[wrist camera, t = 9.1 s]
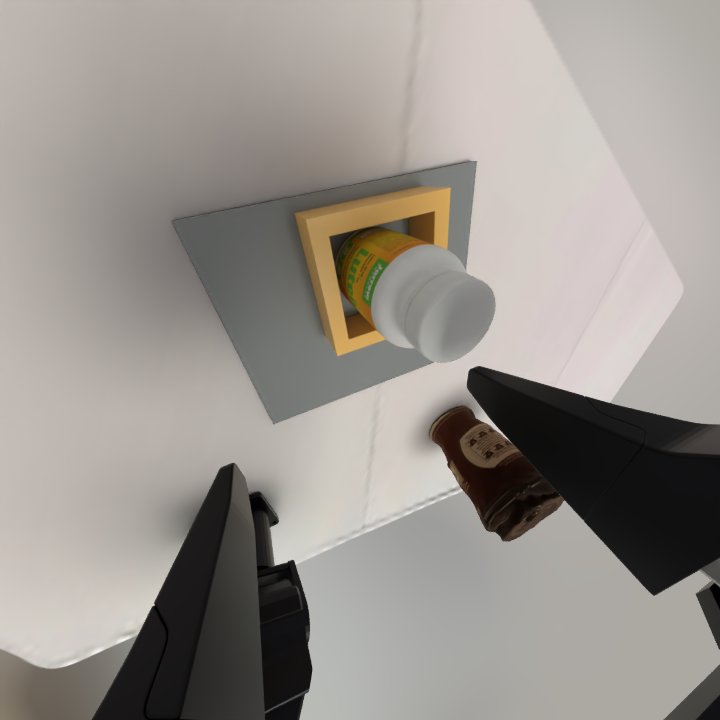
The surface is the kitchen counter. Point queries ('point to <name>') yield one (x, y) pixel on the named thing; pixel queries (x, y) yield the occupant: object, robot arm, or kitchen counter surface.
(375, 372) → the slate board
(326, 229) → the orange collar
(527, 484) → the coffee cup
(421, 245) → the supplement bottle
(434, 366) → the kitchen counter surface
